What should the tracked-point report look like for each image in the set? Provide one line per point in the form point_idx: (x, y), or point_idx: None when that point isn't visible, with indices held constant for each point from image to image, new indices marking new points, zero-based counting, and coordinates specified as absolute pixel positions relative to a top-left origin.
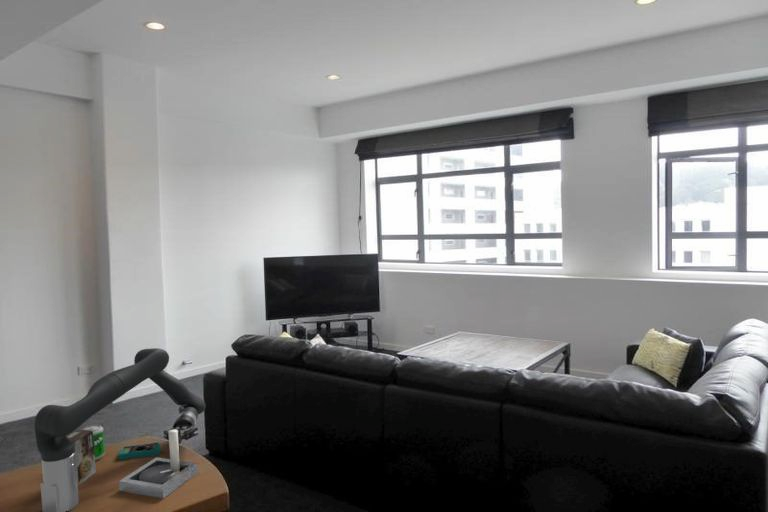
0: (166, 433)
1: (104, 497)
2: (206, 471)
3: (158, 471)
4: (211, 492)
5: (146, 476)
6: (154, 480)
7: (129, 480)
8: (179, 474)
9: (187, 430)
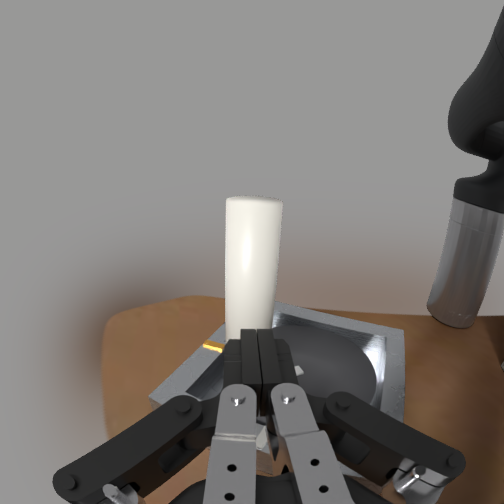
0: (406, 427)
1: (405, 333)
2: (124, 417)
3: (314, 379)
4: (133, 315)
5: (341, 354)
6: (298, 333)
7: (376, 331)
8: (218, 342)
9: (177, 496)
